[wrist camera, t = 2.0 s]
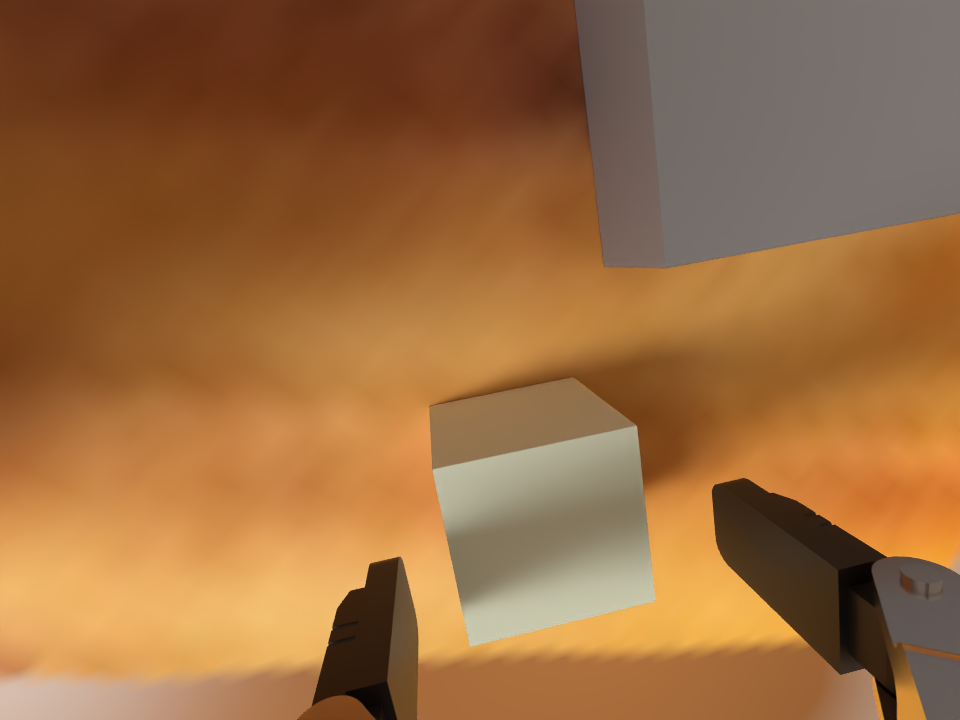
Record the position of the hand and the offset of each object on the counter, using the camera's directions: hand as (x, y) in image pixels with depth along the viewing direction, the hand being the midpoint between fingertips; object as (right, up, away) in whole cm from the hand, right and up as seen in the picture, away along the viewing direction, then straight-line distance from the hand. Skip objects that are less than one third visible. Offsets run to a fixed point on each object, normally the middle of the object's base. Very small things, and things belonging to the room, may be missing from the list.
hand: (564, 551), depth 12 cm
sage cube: (-1, +1, +5) cm, 5 cm away
